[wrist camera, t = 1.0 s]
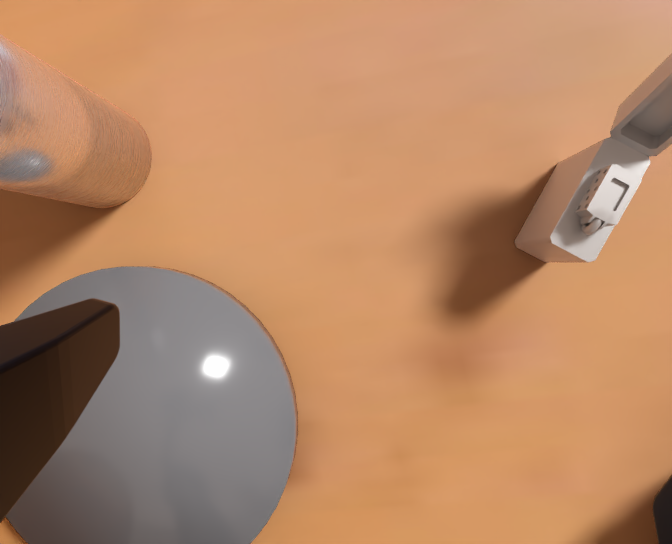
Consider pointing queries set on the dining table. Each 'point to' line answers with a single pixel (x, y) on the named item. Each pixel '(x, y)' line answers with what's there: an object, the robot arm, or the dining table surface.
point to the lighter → (600, 178)
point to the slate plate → (168, 421)
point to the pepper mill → (65, 136)
